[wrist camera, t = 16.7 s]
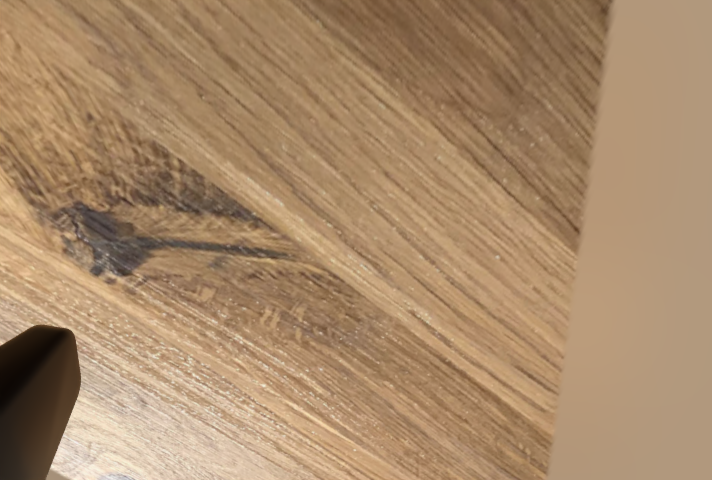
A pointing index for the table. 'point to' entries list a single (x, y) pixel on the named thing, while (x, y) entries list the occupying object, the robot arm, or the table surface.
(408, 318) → the table surface
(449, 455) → the table surface
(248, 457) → the table surface
